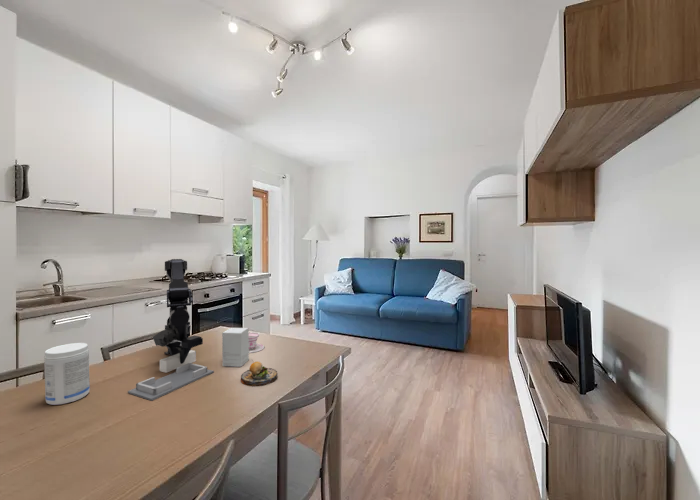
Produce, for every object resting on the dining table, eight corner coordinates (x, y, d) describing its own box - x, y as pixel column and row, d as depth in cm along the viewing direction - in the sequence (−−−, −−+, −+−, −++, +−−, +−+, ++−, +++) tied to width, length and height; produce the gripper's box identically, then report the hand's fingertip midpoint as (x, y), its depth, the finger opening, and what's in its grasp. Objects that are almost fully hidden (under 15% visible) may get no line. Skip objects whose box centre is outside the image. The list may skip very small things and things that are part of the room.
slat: (159, 371, 110) (159, 359, 110) (189, 359, 121) (189, 349, 121) (166, 372, 109) (166, 361, 109) (195, 361, 120) (195, 350, 120)
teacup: (256, 342, 143) (256, 329, 143) (269, 349, 134) (269, 335, 134) (230, 348, 135) (230, 334, 135) (242, 356, 126) (242, 340, 126)
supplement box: (249, 360, 122) (249, 327, 121) (240, 367, 114) (241, 333, 114) (231, 359, 122) (231, 327, 122) (221, 366, 115) (221, 332, 115)
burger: (281, 382, 103) (282, 359, 103) (245, 390, 97) (245, 366, 97) (271, 369, 113) (271, 349, 113) (237, 376, 107) (237, 354, 107)
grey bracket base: (127, 393, 94) (127, 385, 94) (191, 367, 114) (191, 360, 114) (151, 400, 89) (151, 392, 89) (213, 372, 109) (213, 365, 109)
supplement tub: (93, 387, 97) (93, 340, 97) (83, 401, 88) (83, 350, 88) (52, 394, 93) (52, 344, 92) (37, 409, 84) (37, 355, 84)
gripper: (139, 322, 111) (139, 365, 111) (176, 328, 104) (175, 375, 104) (169, 316, 121) (169, 355, 122) (203, 321, 114) (203, 363, 114)
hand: (178, 362), depth 115 cm, fingers closed on slat, 3 cm apart
